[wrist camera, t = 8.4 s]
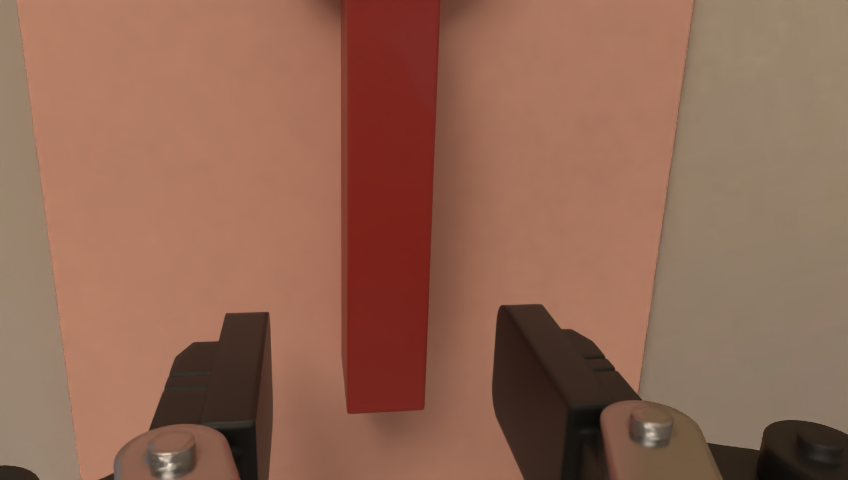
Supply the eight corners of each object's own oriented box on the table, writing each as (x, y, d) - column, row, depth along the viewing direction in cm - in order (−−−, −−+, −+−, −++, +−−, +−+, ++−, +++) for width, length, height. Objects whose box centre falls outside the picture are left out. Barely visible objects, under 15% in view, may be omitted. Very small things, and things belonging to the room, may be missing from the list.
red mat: (0, -182, 11) (-11, -188, 11) (703, -133, 13) (715, -137, 13) (90, 504, 16) (85, 516, 15) (619, 468, 17) (627, 478, 17)
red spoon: (248, -307, 11) (235, -375, 9) (513, -280, 12) (557, -339, 10) (272, 360, 15) (266, 419, 13) (474, 352, 15) (500, 407, 13)
